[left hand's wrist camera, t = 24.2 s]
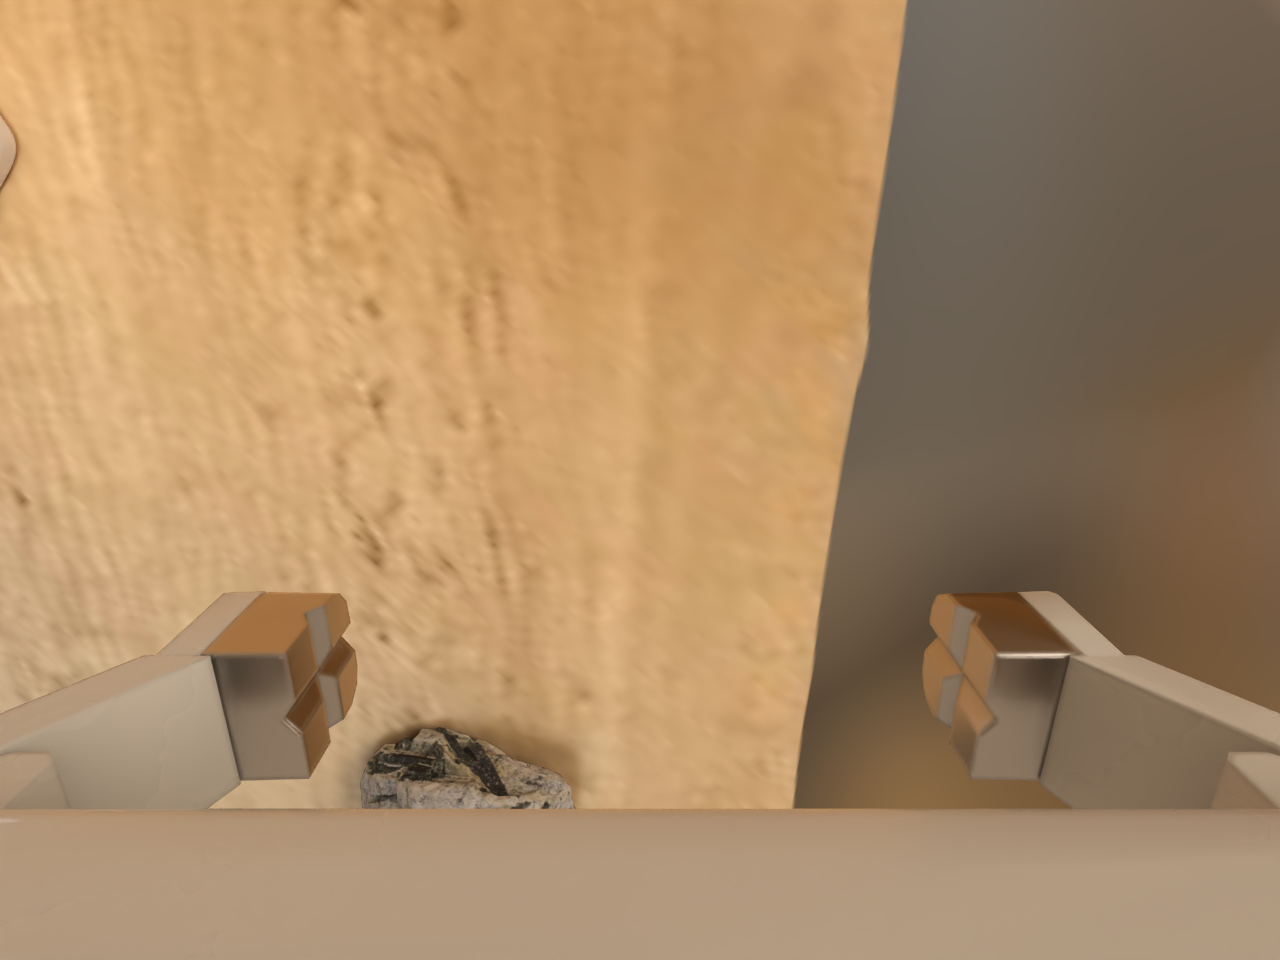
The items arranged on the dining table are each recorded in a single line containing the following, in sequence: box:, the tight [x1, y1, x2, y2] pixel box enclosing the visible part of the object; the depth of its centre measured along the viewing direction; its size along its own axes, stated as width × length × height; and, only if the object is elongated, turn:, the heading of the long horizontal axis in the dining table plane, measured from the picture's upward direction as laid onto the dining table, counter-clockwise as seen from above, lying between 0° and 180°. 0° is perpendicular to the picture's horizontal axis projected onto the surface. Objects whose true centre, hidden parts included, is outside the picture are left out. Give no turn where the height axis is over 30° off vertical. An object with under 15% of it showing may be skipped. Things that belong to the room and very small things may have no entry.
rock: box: [360, 728, 576, 809], centre depth 49 cm, size 15×10×7 cm
